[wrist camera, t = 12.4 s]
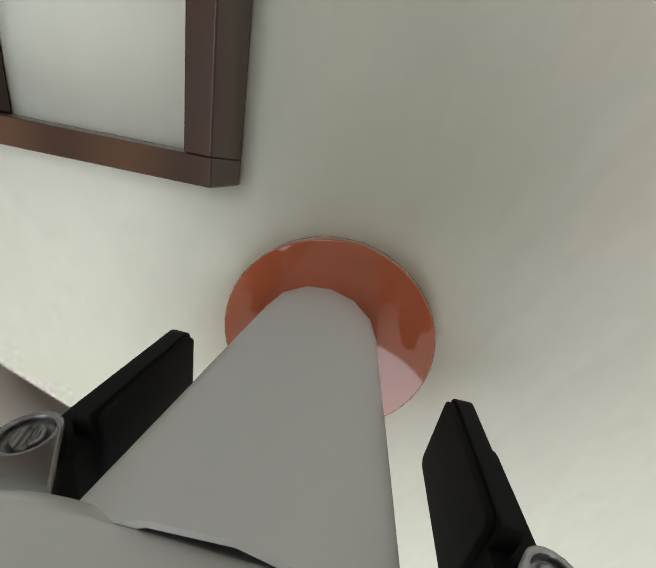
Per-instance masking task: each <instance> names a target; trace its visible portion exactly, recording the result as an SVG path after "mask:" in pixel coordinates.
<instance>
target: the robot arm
mask: <svg viewBox="0 0 656 568" xmlns="http://www.w3.org/2000/svg"><path fill="white" fill-rule="evenodd" d="M193 349H194V341H193V339H192V338H190V335H189V333H186V332H182V331H178V330H171V331H169V332H168V333H166V334H165V335H164V336H163V337H161V338H160V339H159V340H157V341H156V342H155V343H154V344H152V345H151V346H150V347H148V348H147V349H146V350H145V351H143V352H142V353H141V354H139V355H138V356H137V357H136V358H134V359H133V360H132V361H130V362H129V363H128V364H126V365H125V366H124V367H123V368H121V369H120V370H119V371H117V372H116V373H115V374H114V375H112V376H111V377H110V378H108V379H107V380H106V381H105V382H103V383H102V384H101V385H99V386H98V387H97V388H95V389H94V390H93V391H92V392H90V393H89V394H88V395H86V396H85V397H84V398H83V399H81V400H80V401H79V402H77V403H76V404H75V405H74V406H72V407H71V408H70V409H69V410H68V411H67V412H66V413H64V414H63V415H62V416H61V415H59V414H57V413H54V412H45V411H44V412H37V413H31V414H28V415H24V416H21V417H19V418H16V419H14V420H12V421H10V422H8V423H7V424H5V425H3V426H2V427H0V568H276V567H274V566H272V565H270V564H268V563H266V562H263V561H261V560H259V559H257V558H255V557H253V556H251V555H249V554H247V553H245V552H243V551H241V550H239V549H237V548H233V547H229V546H225V545H220V544H216V543H211V542H207V541H202V540H198V539H194V538H189V537H185V536H180V535H176V534H171V533H167V532H163V531H158V530H154V529H149V528H141V529H134V528H130V527H127V526H123V525H119V524H116V523H113V522H112V521H111V520H110V519H109V518H108V517H107V516H106V515H105V514H104V512H102V511H101V510H100V509H99V508H97V507H96V506H95V505H93V504H91V503H87V502H83V501H80V499H81V498H82V497H83V496H84V495H85V494H86V493H87V492H88V491H89V490H90V489H91V488H92V487H93V486H94V485H95V484H96V483H97V482H98V481H99V480H100V478H101V477H102V476H103V475H104V474H105V473H106V472H107V471H108V470H109V469H110V468H111V467H112V466H113V465H114V464H115V463H116V462H117V461H118V460H119V459H120V458H121V457H122V456H123V455H124V454H125V452H126V451H127V450H128V449H129V448H130V447H131V446H132V445H133V444H134V443H135V442H136V441H137V440H138V439H139V438H140V437H141V436H142V435H143V434H144V433H145V432H146V431H147V430H148V429H149V428H150V426H151V425H152V424H153V423H154V422H155V421H156V420H157V419H158V418H159V417H160V416H161V415H162V414H163V413H164V412H165V411H166V410H167V409H168V408H169V407H170V406H171V405H172V404H173V403H174V402H175V400H176V399H177V398H178V397H179V396H180V395H181V394H182V393H183V392H184V391H185V390H186V389H187V388H188V387H189V386H190V385H191V384H192V383H193ZM422 469H423V475H424V481H425V487H426V494H427V500H428V506H429V512H430V518H431V525H432V531H433V537H434V543H435V549H436V555H437V562H438V568H574V567H572V566H571V565H570V564H569V563H568V562H567V561H566V560H565V559H564V558H562V557H561V556H560V555H558V554H557V553H555V552H554V551H552V550H550V549H548V548H546V547H543V546H537V545H536V543H535V541H534V539H533V537H532V534H531V532H530V530H529V527H528V525H527V523H526V520H525V518H524V516H523V513H522V511H521V509H520V507H519V504H518V502H517V500H516V497H515V495H514V493H513V490H512V488H511V486H510V484H509V481H508V479H507V477H506V474H505V472H504V470H503V467H502V465H501V463H500V460H499V458H498V456H497V455H496V453H495V452H494V451H493V450H492V448H491V446H490V444H489V441H488V439H487V437H486V434H485V432H484V430H483V427H482V425H481V423H480V420H479V418H478V415H477V413H476V411H475V408H474V406H473V404H472V403H470V402H466V401H462V400H458V399H453V400H452V401H451V402H446V404H445V406H444V408H443V411H442V413H441V415H440V418H439V420H438V422H437V425H436V427H435V430H434V432H433V434H432V437H431V439H430V441H429V444H428V446H427V449H426V451H425V453H424V456H423V460H422Z"/></svg>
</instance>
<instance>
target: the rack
mask: <svg viewBox="0 0 656 568" xmlns="http://www.w3.org/2000/svg"><path fill="white" fill-rule="evenodd" d="M251 13H252V0H186V22H185V128H184V149H181V148H176V147H171V146H166V145H161V144H156V143H151V142H147V141H142V140H137V139H132V138H127V137H122V136H117V135H112V134H107V133H102V132H97V131H92V130H87V129H82V128H78V127H73V126H68V125H63V124H58V123H53V122H48V121H43V120H38V119H33V118H28V117H23V116H18V115H14V114H9V113H11V109H10V103H9V98H8V92H7V86H6V81H5V75H4V69H3V64H2V58H1V52H0V144H4V145H8V146H13V147H18V148H23V149H27V150H32V151H37V152H42V153H46V154H51V155H56V156H61V157H65V158H70V159H75V160H80V161H84V162H89V163H94V164H99V165H103V166H108V167H113V168H117V169H122V170H127V171H132V172H136V173H141V174H146V175H151V176H155V177H160V178H165V179H170V180H174V181H179V182H184V183H189V184H193V185H198V186H203V187H208V188H213V187H224V186H235V185H239V177H240V164H241V162H240V160H241V149H242V135H243V122H244V108H245V94H246V81H247V67H248V54H249V40H250V26H251Z"/></svg>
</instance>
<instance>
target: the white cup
mask: <svg viewBox="0 0 656 568" xmlns="http://www.w3.org/2000/svg"><path fill="white" fill-rule="evenodd" d="M80 501H83V502H87V503H91V504H93V505H95V506H96V507H97V508H99V509H100V510H101V511H102V512H104V514H105V515H106V516H107V517H108V518H109V519H110V520H111V521H112V522H113V523H116V524H119V525H123V526H127V527H130V528H134V529H141V528H149V529H154V530H158V531H163V532H167V533H171V534H176V535H180V536H185V537H189V538H194V539H198V540H202V541H207V542H211V543H216V544H220V545H225V546H229V547H233V548H237V549H239V550H241V551H243V552H245V553H247V554H249V555H251V556H253V557H255V558H257V559H259V560H261V561H263V562H266V563H268V564H270V565H272V566H274V567H276V568H400V565H399V556H398V546H397V536H396V526H395V517H394V507H393V497H392V488H391V478H390V468H389V458H388V449H387V439H386V429H385V419H384V410H383V400H382V390H381V380H380V371H379V361H378V351H377V341H376V338H375V334H374V331H373V328H372V324H371V321H370V319H369V318H368V317H367V316H366V314H365V313H364V312H363V311H362V310H361V309H360V307H359V306H358V305H357V304H356V303H355V302H354V301H353V300H351V299H349V298H347V297H345V296H343V295H341V294H340V293H338V292H336V291H334V290H332V289H325V288H318V287H310V286H305V287H301V288H297V289H294V290H290V291H286V292H283V293H282V294H280V295H279V296H278V297H277V298H275V299H274V300H273V301H272V302H270V303H269V304H268V305H267V306H266V307H265V308H264V309H263V310H262V311H261V312H260V313H259V314H258V315H257V316H256V317H255V318H254V319H253V320H252V321H251V322H250V324H249V325H248V326H247V327H246V328H245V329H244V330H243V331H242V332H241V333H240V334H239V335H238V336H237V337H236V338H235V339H234V340H233V341H232V342H231V343H230V344H229V345H228V346H227V347H226V348H225V350H224V351H223V352H222V353H221V354H220V355H219V356H218V357H217V358H216V359H215V360H214V361H213V362H212V363H211V364H210V365H209V366H208V367H207V368H206V369H205V370H204V371H203V372H202V373H201V374H200V376H199V377H198V378H197V379H196V380H195V381H194V382H193V383H192V384H191V385H190V386H189V387H188V388H187V389H186V390H185V391H184V392H183V393H182V394H181V395H180V396H179V397H178V398H177V399H176V400H175V402H174V403H173V404H172V405H171V406H170V407H169V408H168V409H167V410H166V411H165V412H164V413H163V414H162V415H161V416H160V417H159V418H158V419H157V420H156V421H155V422H154V423H153V424H152V425H151V426H150V428H149V429H148V430H147V431H146V432H145V433H144V434H143V435H142V436H141V437H140V438H139V439H138V440H137V441H136V442H135V443H134V444H133V445H132V446H131V447H130V448H129V449H128V450H127V451H126V452H125V454H124V455H123V456H122V457H121V458H120V459H119V460H118V461H117V462H116V463H115V464H114V465H113V466H112V467H111V468H110V469H109V470H108V471H107V472H106V473H105V474H104V475H103V476H102V477H101V478H100V480H99V481H98V482H97V483H96V484H95V485H94V486H93V487H92V488H91V489H90V490H89V491H88V492H87V493H86V494H85V495H84V496H83V497H82V498H81V499H80Z"/></svg>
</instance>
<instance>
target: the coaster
mask: <svg viewBox="0 0 656 568" xmlns="http://www.w3.org/2000/svg"><path fill="white" fill-rule="evenodd" d="M305 286H310V287H318V288H325V289H332V290H334V291H336V292H338V293H340V294H341V295H343V296H345V297H347V298H349V299H351V300H353V301H354V302H355V303H356V304H357V305H358V306H359V307H360V309H361V310H362V311H363V312H364V313H365V314H366V316H367V317H368V318H369V319H370V321H371V324H372V328H373V331H374V334H375V338H376V341H377V351H378V361H379V371H380V380H381V390H382V400H383V410H384V416H386V415H388V414H390V413H392V412H394V411H395V410H397V409H398V408H400V407H401V406H402V405H404V404H405V403H406V402H407V401H408V400H409V399H411V397H412V396H413V395H414V394H415V393H416V392H417V391H418V390H419V388H420V387H421V385H422V383H423V382H424V380H425V379H426V376H427V374H428V372H429V370H430V368H431V364H432V361H433V357H434V351H435V328H434V323H433V318H432V315H431V312H430V309H429V306H428V304H427V301H426V299H425V297H424V295H423V293H422V291H421V290H420V288H419V286H418V285H417V284H416V282H415V281H414V280H413V278H412V277H411V276H410V275H409V274H408V273H407V272H406V271H405V269H404V268H403V267H402V266H400V265H399V264H398V263H397V262H395V261H394V260H393V259H392V258H390V257H389V256H387V255H386V254H384V253H382V252H381V251H379V250H377V249H375V248H373V247H370V246H368V245H366V244H364V243H360V242H357V241H353V240H350V239H345V238H338V237H322V236H317V237H309V238H302V239H298V240H294V241H290V242H287V243H285V244H283V245H280V246H278V247H276V248H274V249H272V250H271V251H269V252H267V253H265V254H264V255H263V256H261V257H260V258H259V259H258V260H256V261H255V262H254V263H253V264H251V265H250V267H249V268H248V269H247V270H246V271H245V272H244V273H243V274H242V276H241V277H240V279H239V280H238V281H237V283H236V284H235V287H234V289H233V291H232V293H231V295H230V298H229V301H228V305H227V309H226V316H225V334H226V341H227V345H229V344H230V343H231V342H232V341H233V340H234V339H235V338H236V337H237V336H238V335H239V334H240V333H241V332H242V331H243V330H244V329H245V328H246V327H247V326H248V325H249V324H250V322H251V321H252V320H253V319H254V318H255V317H256V316H257V315H258V314H259V313H260V312H261V311H262V310H263V309H264V308H265V307H266V306H267V305H268V304H269V303H270V302H272V301H273V300H274V299H275V298H277V297H278V296H279V295H280V294H282V293H283V292H286V291H290V290H294V289H297V288H301V287H305Z"/></svg>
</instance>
